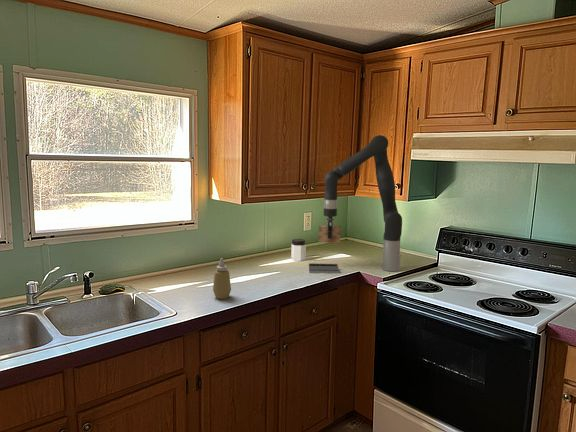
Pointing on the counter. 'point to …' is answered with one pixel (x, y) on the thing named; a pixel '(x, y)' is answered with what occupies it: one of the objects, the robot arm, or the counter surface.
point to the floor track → (323, 268)
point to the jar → (298, 250)
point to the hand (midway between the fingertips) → (329, 237)
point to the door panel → (324, 234)
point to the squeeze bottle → (221, 281)
